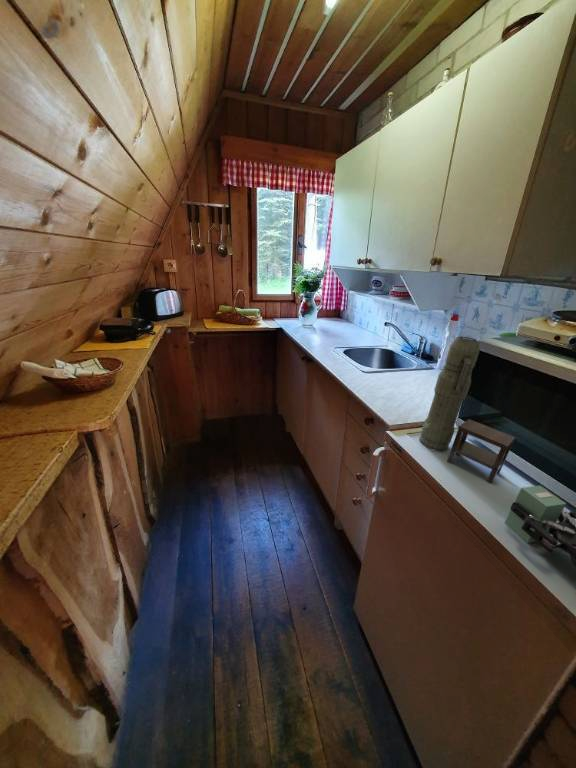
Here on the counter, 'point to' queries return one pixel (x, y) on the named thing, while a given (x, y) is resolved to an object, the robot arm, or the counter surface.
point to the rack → (479, 453)
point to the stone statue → (450, 393)
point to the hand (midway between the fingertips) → (526, 503)
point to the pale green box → (535, 509)
